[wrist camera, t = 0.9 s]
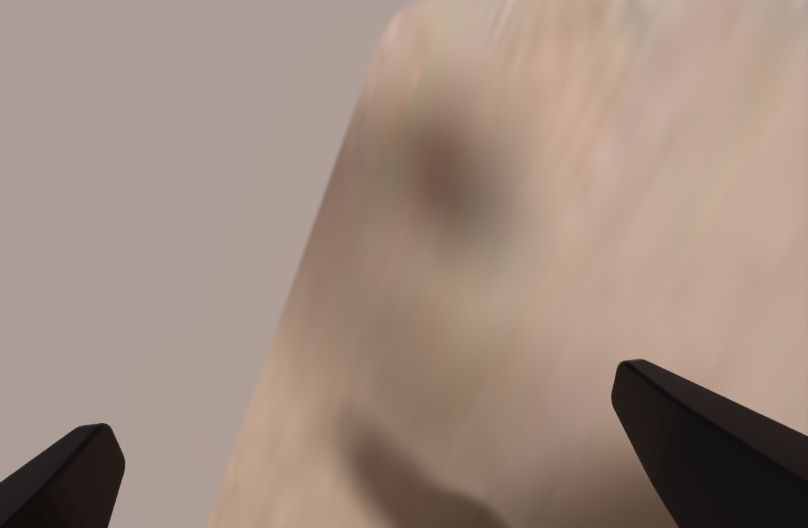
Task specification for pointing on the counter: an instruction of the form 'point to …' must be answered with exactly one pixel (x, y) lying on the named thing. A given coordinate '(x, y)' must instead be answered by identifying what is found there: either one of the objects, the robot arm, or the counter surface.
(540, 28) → the counter surface
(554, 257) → the counter surface
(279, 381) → the counter surface
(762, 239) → the counter surface
